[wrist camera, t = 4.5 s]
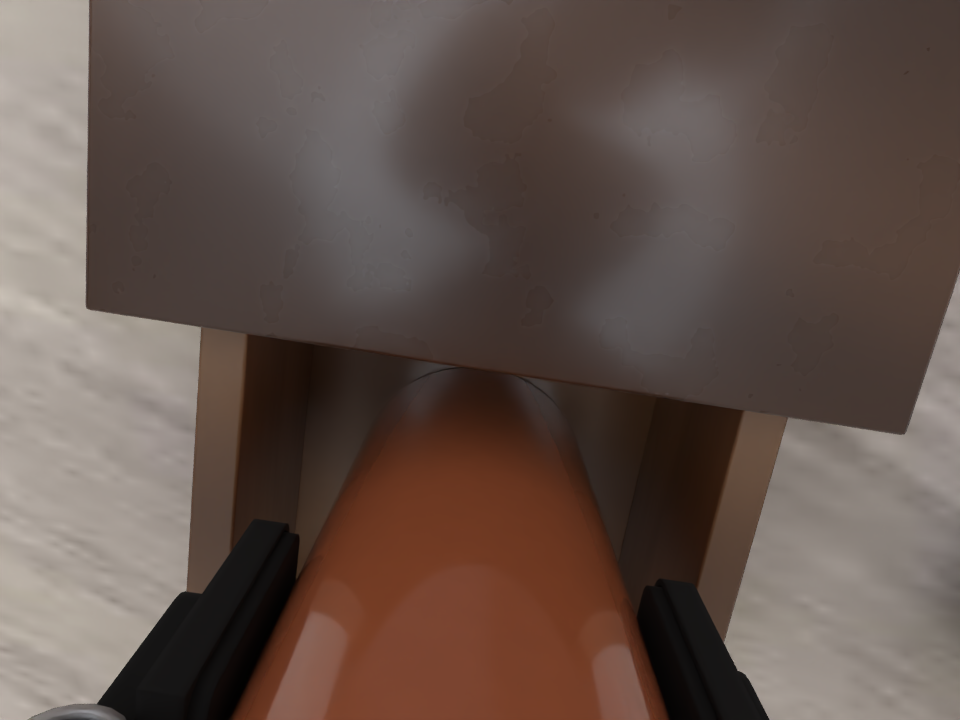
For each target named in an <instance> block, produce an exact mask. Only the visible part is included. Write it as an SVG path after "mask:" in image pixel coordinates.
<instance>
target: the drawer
mask: <svg viewBox="0 0 960 720" xmlns="http://www.w3.org/2000/svg"><path fill="white" fill-rule="evenodd" d="M456 368H464V367H457V366H451V365H444V364H438V363H431V362H425V361H418V360H412V359H405V358H399V357H393V356H386V355H380V354H373V353H367V352H360V351H354V350H347V349H341V348H334V347H328V346H321V345H315V344H308V343H302V342H295V341H289V340H282V339H276V338H269V337H263V336H256V335H250V334H243V333H237V332H230V331H224V330H217V329H211V328H204V327H201V341H200V359H199V377H198V395H197V413H196V431H195V450H194V468H193V486H192V504H191V522H190V540H189V558H188V576H187V592H193V593H200V594H202V593H203V592H204V590H205V589H206V587H207V586H208V584H209V583H210V581H211V580H212V579H213V577H214V576H215V574H216V573H217V571H218V570H219V568H220V567H221V565H222V564H223V563H224V561H225V560H226V558H227V557H228V555H229V554H230V552H231V551H232V550H233V548H234V547H235V545H236V544H237V542H238V541H239V539H240V538H241V536H242V535H243V534H244V532H245V531H246V529H247V528H248V526H249V525H250V523H251V522H252V521H253V520H254V519H261V520H267V521H274V522H281V523H288V525H289V530H290V531H289V533H295V534H299V537H300V542H299V553H298V563H297V573H296V579H297V577H298V575H299V573H300V571H301V569H302V567H303V565H304V563H305V561H306V559H307V557H308V554H309V552H310V550H311V548H312V546H313V544H314V542H315V540H316V538H317V536H318V534H319V532H320V529H321V527H322V525H323V523H324V521H325V519H326V517H327V515H328V513H329V511H330V509H331V507H332V504H333V502H334V500H335V498H336V496H337V494H338V492H339V490H340V488H341V486H342V484H343V482H344V480H345V477H346V475H347V473H348V471H349V469H350V467H351V465H352V463H353V461H354V459H355V457H356V455H357V452H358V450H359V448H360V446H361V444H362V442H363V440H364V438H365V436H366V434H367V432H368V430H369V428H370V426H371V424H372V422H373V420H374V418H375V417H376V416H377V414H378V413H379V411H380V410H381V409H382V407H383V406H384V405H385V404H386V403H387V402H388V401H389V400H390V399H391V398H392V397H393V396H394V395H395V394H397V393H398V392H399V391H400V390H402V389H403V388H404V387H406V386H408V385H409V384H411V383H413V382H414V381H416V380H418V379H421V378H423V377H425V376H427V375H430V374H433V373H437V372H440V371H443V370H449V369H456ZM513 376H516V375H513ZM516 377H518V378H520V379H522V380H524V381H526V382H528V383H530V384H532V385H533V386H535V387H536V388H537V389H539V390H540V391H542V392H543V393H544V394H545V395H547V396H548V397H549V398H550V399H551V400H552V401H553V402H554V403H555V404H556V405H557V406H558V408H559V409H560V410H561V411H562V412H563V414H564V415H565V417H566V418H567V420H568V421H569V423H570V425H571V427H572V429H573V431H574V433H575V435H576V438H577V440H578V443H579V446H580V449H581V452H582V455H583V459H584V462H585V465H586V468H587V471H588V474H589V477H590V480H591V483H592V486H593V489H594V492H595V495H596V498H597V501H598V504H599V507H600V510H601V513H602V516H603V519H604V522H605V525H606V528H607V531H608V534H609V537H610V540H611V543H612V546H613V549H614V552H615V555H616V558H617V561H618V564H619V567H620V570H621V573H622V576H623V579H624V582H625V585H626V588H627V591H628V594H629V597H630V600H631V603H632V606H633V609H634V613H635V616H636V617H637V613H638V609H639V605H640V601H641V597H642V593H643V590H644V588H645V586H647V585H649V586H654V585H655V583H656V581H657V580H658V579H659V578H661V579H668V580H674V581H681V582H688V583H692V584H694V585H695V587H696V589H697V591H698V593H699V595H700V597H701V599H702V601H703V603H704V605H705V607H706V609H707V611H708V613H709V615H710V617H711V619H712V621H713V623H714V625H715V627H716V629H717V631H718V633H719V635H720V637H721V639H722V641H723V643H724V640H725V637H726V633H727V630H728V626H729V623H730V619H731V616H732V612H733V608H734V605H735V601H736V598H737V594H738V591H739V587H740V584H741V580H742V577H743V573H744V570H745V566H746V563H747V559H748V556H749V552H750V549H751V545H752V542H753V538H754V535H755V531H756V528H757V524H758V521H759V517H760V514H761V510H762V507H763V503H764V500H765V496H766V493H767V489H768V485H769V482H770V478H771V475H772V471H773V468H774V464H775V461H776V457H777V454H778V450H779V447H780V443H781V440H782V436H783V433H784V429H785V426H786V422H787V419H788V417H782V416H776V415H769V414H763V413H756V412H750V411H743V410H737V409H730V408H724V407H717V406H711V405H704V404H698V403H691V402H685V401H678V400H672V399H665V398H659V397H652V396H646V395H639V394H633V393H626V392H620V391H613V390H607V389H600V388H594V387H587V386H581V385H574V384H568V383H561V382H555V381H548V380H542V379H535V378H529V377H522V376H516Z"/></svg>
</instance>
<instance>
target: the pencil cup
mask: <svg viewBox="0 0 960 720" xmlns="http://www.w3.org/2000/svg"><path fill="white" fill-rule="evenodd" d="M229 720H670V718H669V715H668V712H667V709H666V706H665V703H664V700H663V697H662V694H661V691H660V688H659V685H658V682H657V679H656V676H655V673H654V670H653V667H652V664H651V661H650V658H649V655H648V652H647V649H646V646H645V643H644V640H643V637H642V634H641V631H640V628H639V625H638V622H637V619H636V616H635V613H634V609H633V606H632V603H631V600H630V597H629V594H628V591H627V588H626V585H625V582H624V579H623V576H622V573H621V570H620V567H619V564H618V561H617V558H616V555H615V552H614V549H613V546H612V543H611V540H610V537H609V534H608V531H607V528H606V525H605V522H604V519H603V516H602V513H601V510H600V507H599V504H598V501H597V498H596V495H595V492H594V489H593V486H592V483H591V480H590V477H589V474H588V471H587V468H586V465H585V462H584V459H583V455H582V452H581V449H580V446H579V443H578V440H577V438H576V435H575V433H574V431H573V429H572V427H571V425H570V423H569V421H568V420H567V418H566V417H565V415H564V414H563V412H562V411H561V410H560V409H559V408H558V406H557V405H556V404H555V403H554V402H553V401H552V400H551V399H550V398H549V397H548V396H547V395H545V394H544V393H543V392H542V391H540V390H539V389H537V388H536V387H535V386H533V385H532V384H530V383H528V382H526V381H524V380H522V379H520V378H518V377H516V376H513V375H509V374H503V373H496V372H490V371H483V370H477V369H470V368H456V369H449V370H443V371H440V372H437V373H433V374H430V375H427V376H425V377H423V378H421V379H418V380H416V381H414V382H413V383H411V384H409V385H408V386H406V387H404V388H403V389H402V390H400V391H399V392H398V393H397V394H395V395H394V396H393V397H392V398H391V399H390V400H389V401H388V402H387V403H386V404H385V405H384V406H383V407H382V409H381V410H380V411H379V413H378V414H377V416H376V417H375V418H374V420H373V422H372V424H371V426H370V428H369V430H368V432H367V434H366V436H365V438H364V440H363V442H362V444H361V446H360V448H359V450H358V452H357V455H356V457H355V459H354V461H353V463H352V465H351V467H350V469H349V471H348V473H347V475H346V477H345V480H344V482H343V484H342V486H341V488H340V490H339V492H338V494H337V496H336V498H335V500H334V502H333V504H332V507H331V509H330V511H329V513H328V515H327V517H326V519H325V521H324V523H323V525H322V527H321V529H320V532H319V534H318V536H317V538H316V540H315V542H314V544H313V546H312V548H311V550H310V552H309V554H308V557H307V559H306V561H305V563H304V565H303V567H302V569H301V571H300V573H299V575H298V577H297V579H296V581H295V584H294V586H293V588H292V590H291V592H290V594H289V596H288V598H287V600H286V602H285V604H284V606H283V609H282V611H281V613H280V615H279V617H278V619H277V621H276V623H275V625H274V627H273V629H272V631H271V634H270V636H269V638H268V640H267V642H266V644H265V646H264V648H263V650H262V652H261V654H260V656H259V658H258V661H257V663H256V665H255V667H254V669H253V671H252V673H251V675H250V677H249V679H248V681H247V683H246V686H245V688H244V690H243V692H242V694H241V696H240V698H239V700H238V702H237V704H236V706H235V708H234V710H233V713H232V715H231V717H230V719H229Z"/></svg>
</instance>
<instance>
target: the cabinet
mask: <svg viewBox="0 0 960 720" xmlns="http://www.w3.org/2000/svg"><path fill="white" fill-rule="evenodd" d="M959 271H960V0H89V78H88V162H87V245H86V308H87V309H90V310H94V311H100V312H107V313H113V314H120V315H126V316H133V317H139V318H146V319H152V320H159V321H165V322H172V323H178V324H185V325H191V326H198V327H204V328H211V329H217V330H224V331H230V332H237V333H243V334H250V335H256V336H263V337H269V338H276V339H282V340H289V341H295V342H302V343H308V344H315V345H321V346H328V347H334V348H341V349H347V350H354V351H360V352H367V353H373V354H380V355H386V356H393V357H399V358H405V359H412V360H418V361H425V362H431V363H438V364H444V365H451V366H457V367H464V368H470V369H477V370H483V371H490V372H496V373H503V374H509V375H516V376H522V377H529V378H535V379H542V380H548V381H555V382H561V383H568V384H574V385H581V386H587V387H594V388H600V389H607V390H613V391H620V392H626V393H633V394H639V395H646V396H652V397H659V398H665V399H672V400H678V401H685V402H691V403H698V404H704V405H711V406H717V407H724V408H730V409H737V410H743V411H750V412H756V413H763V414H769V415H776V416H782V417H789V418H795V419H802V420H808V421H815V422H821V423H828V424H834V425H841V426H847V427H854V428H860V429H867V430H873V431H880V432H886V433H893V434H899V435H902V434H905V433H906V431H907V428H908V425H909V422H910V419H911V416H912V413H913V410H914V407H915V404H916V401H917V398H918V395H919V392H920V389H921V386H922V383H923V380H924V377H925V374H926V371H927V368H928V365H929V362H930V359H931V356H932V353H933V350H934V347H935V344H936V341H937V338H938V335H939V332H940V329H941V326H942V323H943V319H944V316H945V313H946V310H947V307H948V304H949V301H950V298H951V295H952V292H953V289H954V286H955V283H956V280H957V277H958V274H959Z"/></svg>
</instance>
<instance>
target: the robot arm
mask: <svg viewBox="0 0 960 720" xmlns="http://www.w3.org/2000/svg"><path fill="white" fill-rule="evenodd" d="M289 531H290V530H289V525H288V523H281V522H274V521H267V520H261V519H254V520H253V521H252V522H251V523H250V525H249V526H248V528H247V529H246V531H245V532H244V534H243V535H242V536H241V538H240V539H239V541H238V542H237V544H236V545H235V547H234V548H233V550H232V551H231V552H230V554H229V555H228V557H227V558H226V560H225V561H224V563H223V564H222V565H221V567H220V568H219V570H218V571H217V573H216V574H215V576H214V577H213V579H212V580H211V581H210V583H209V584H208V586H207V587H206V589H205V590H204V592H203V593H202V594H200V593H193V592H186V591H185V592H182V593H180V594H179V595H178V596H177V597H176V599H175V600H174V601H173V602H172V604H171V605H170V607H169V608H168V609H167V611H166V612H165V613H164V615H163V616H162V617H161V619H160V620H159V621H158V623H157V624H156V625H155V627H154V628H153V629H152V631H151V632H150V633H149V635H148V636H147V637H146V639H145V640H144V641H143V643H142V644H141V645H140V647H139V648H138V649H137V651H136V652H135V653H134V655H133V656H132V658H131V659H130V660H129V662H128V663H127V664H126V666H125V667H124V668H123V670H122V671H121V672H120V674H119V675H118V676H117V678H116V679H115V680H114V682H113V683H112V684H111V686H110V687H109V688H108V690H107V691H106V692H105V694H104V695H103V696H102V698H101V699H100V700H99V702H98V703H97V704H72V705H67V706H62V707H57V708H53V709H51V710H48V711H45V712H43V713H40V714H38V715H35V716H33V717H31V718H29V719H28V720H229V719H230V717H231V715H232V713H233V710H234V708H235V706H236V704H237V702H238V700H239V698H240V696H241V694H242V692H243V690H244V688H245V686H246V683H247V681H248V679H249V677H250V675H251V673H252V671H253V669H254V667H255V665H256V663H257V661H258V658H259V656H260V654H261V652H262V650H263V648H264V646H265V644H266V642H267V640H268V638H269V636H270V634H271V631H272V629H273V627H274V625H275V623H276V621H277V619H278V617H279V615H280V613H281V611H282V609H283V606H284V604H285V602H286V600H287V598H288V596H289V594H290V592H291V590H292V588H293V586H294V584H295V581H296V573H297V563H298V553H299V542H300V537H299V534H295V533H289ZM636 619H637V622H638V625H639V628H640V631H641V634H642V637H643V640H644V643H645V646H646V649H647V652H648V655H649V658H650V661H651V664H652V667H653V670H654V673H655V676H656V679H657V682H658V685H659V688H660V691H661V694H662V697H663V700H664V703H665V706H666V709H667V712H668V715H669V718H670V720H769V718H768V716H767V714H766V712H765V710H764V708H763V706H762V704H761V702H760V700H759V698H758V697H757V695H756V693H755V691H754V689H753V687H752V685H751V683H750V681H749V680H748V678H747V677H746V675H745V674H743V673H742V672H740V671H737V669H736V667H735V665H734V663H733V661H732V659H731V657H730V655H729V653H728V651H727V649H726V647H725V645H724V643H723V641H722V639H721V637H720V635H719V633H718V631H717V629H716V627H715V625H714V623H713V621H712V619H711V617H710V615H709V613H708V611H707V609H706V607H705V605H704V603H703V601H702V599H701V597H700V595H699V593H698V591H697V589H696V587H695V585H694V584H692V583H688V582H681V581H674V580H668V579H661V578H659V579H658V580H657V581H656V583H655V585H654V586H649V585H647V586H645V588H644V590H643V593H642V597H641V601H640V605H639V609H638V613H637V617H636Z"/></svg>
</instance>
